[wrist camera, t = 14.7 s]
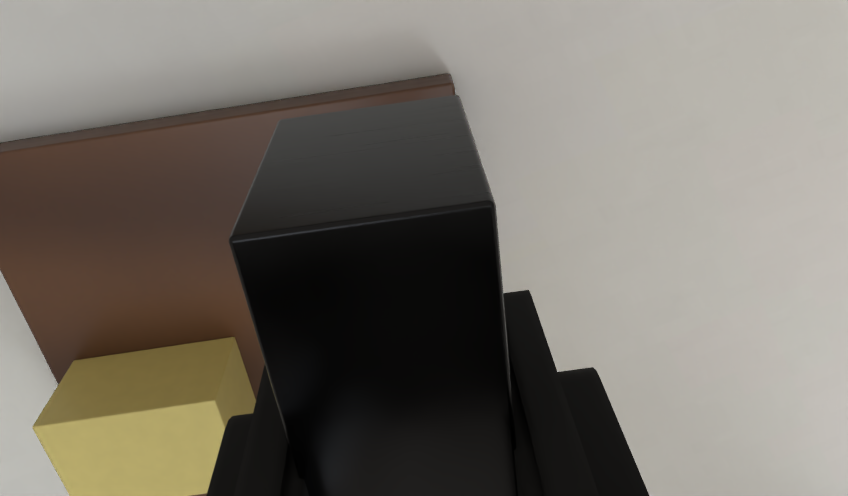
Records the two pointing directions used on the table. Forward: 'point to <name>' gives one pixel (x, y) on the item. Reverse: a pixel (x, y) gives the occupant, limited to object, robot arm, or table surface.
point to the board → (147, 225)
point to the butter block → (145, 419)
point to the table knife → (381, 302)
